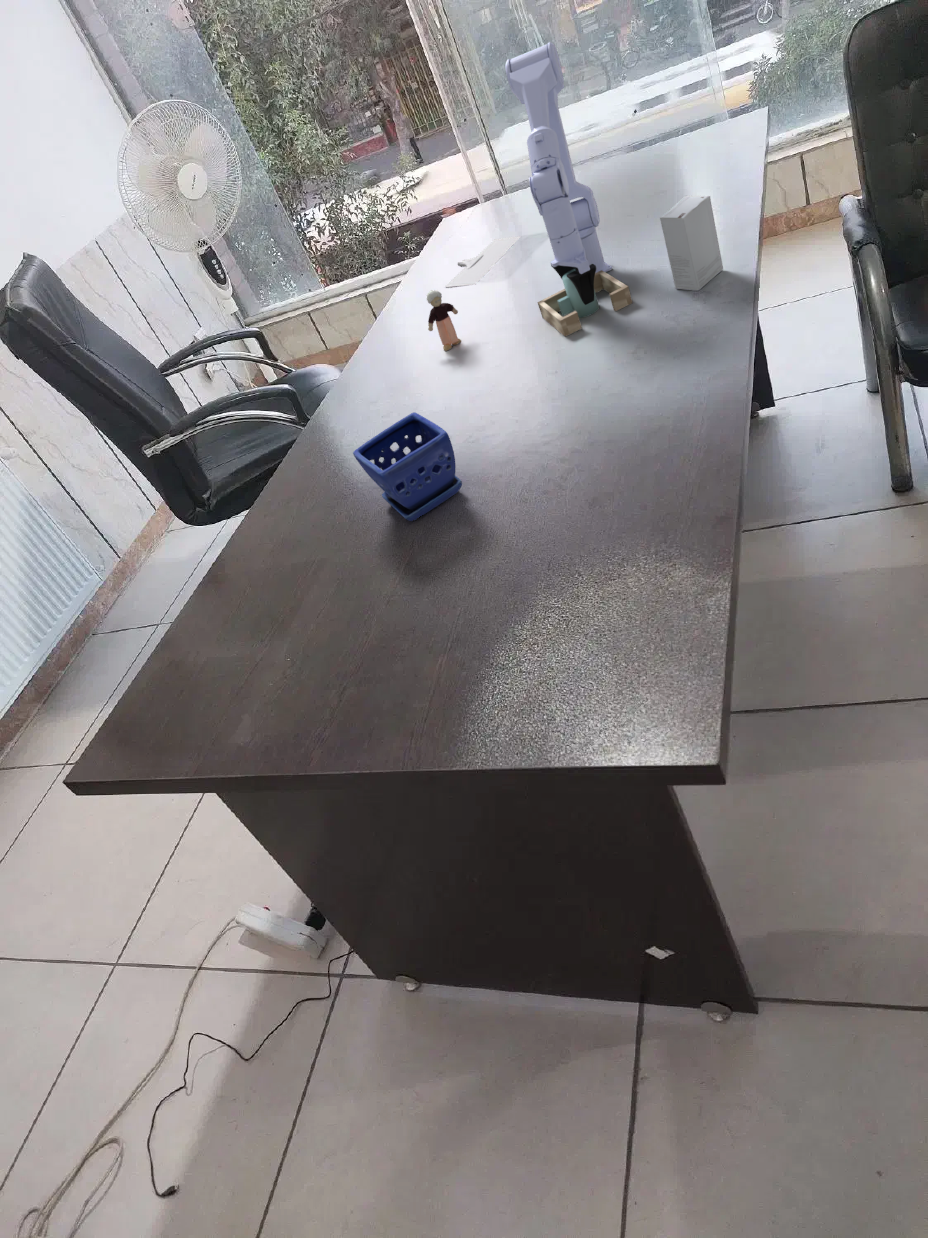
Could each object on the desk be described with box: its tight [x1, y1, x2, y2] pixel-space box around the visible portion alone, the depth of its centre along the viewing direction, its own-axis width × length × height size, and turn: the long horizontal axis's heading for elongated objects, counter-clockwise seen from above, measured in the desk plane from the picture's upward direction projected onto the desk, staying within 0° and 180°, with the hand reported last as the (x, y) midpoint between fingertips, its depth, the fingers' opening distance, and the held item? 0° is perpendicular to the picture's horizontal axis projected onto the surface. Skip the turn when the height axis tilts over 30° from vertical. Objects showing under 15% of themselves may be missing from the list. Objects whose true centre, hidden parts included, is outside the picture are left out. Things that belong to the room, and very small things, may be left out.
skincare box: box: [659, 195, 724, 292], centre depth 164 cm, size 8×6×15 cm
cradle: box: [537, 270, 633, 338], centre depth 177 cm, size 14×15×4 cm
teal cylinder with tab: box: [557, 269, 600, 319], centre depth 176 cm, size 6×8×8 cm
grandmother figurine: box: [426, 289, 462, 352], centre depth 187 cm, size 8×4×13 cm, turn 131°
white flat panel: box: [444, 235, 522, 288], centre depth 220 cm, size 25×24×1 cm
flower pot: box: [352, 412, 463, 522], centre depth 144 cm, size 13×13×12 cm
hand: (582, 297), depth 176 cm, fingers open, 7 cm apart
